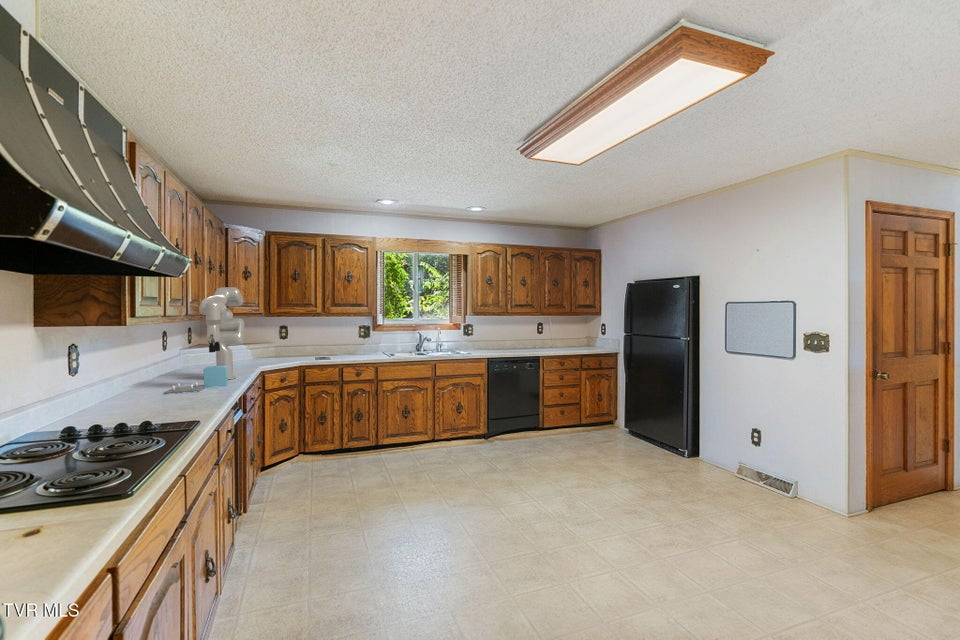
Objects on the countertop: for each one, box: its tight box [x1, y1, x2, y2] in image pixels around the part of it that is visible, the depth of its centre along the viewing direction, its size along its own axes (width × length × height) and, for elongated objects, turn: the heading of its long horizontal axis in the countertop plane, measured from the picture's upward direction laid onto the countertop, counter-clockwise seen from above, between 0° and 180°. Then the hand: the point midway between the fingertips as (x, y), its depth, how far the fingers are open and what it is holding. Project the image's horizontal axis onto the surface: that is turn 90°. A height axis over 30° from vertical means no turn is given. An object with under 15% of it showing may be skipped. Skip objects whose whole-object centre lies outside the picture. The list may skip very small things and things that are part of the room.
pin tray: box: [163, 381, 207, 394], centre depth 261 cm, size 14×17×4 cm
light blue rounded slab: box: [202, 365, 229, 388], centre depth 275 cm, size 12×4×12 cm, turn 111°
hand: (214, 351), depth 274 cm, fingers open, 9 cm apart
